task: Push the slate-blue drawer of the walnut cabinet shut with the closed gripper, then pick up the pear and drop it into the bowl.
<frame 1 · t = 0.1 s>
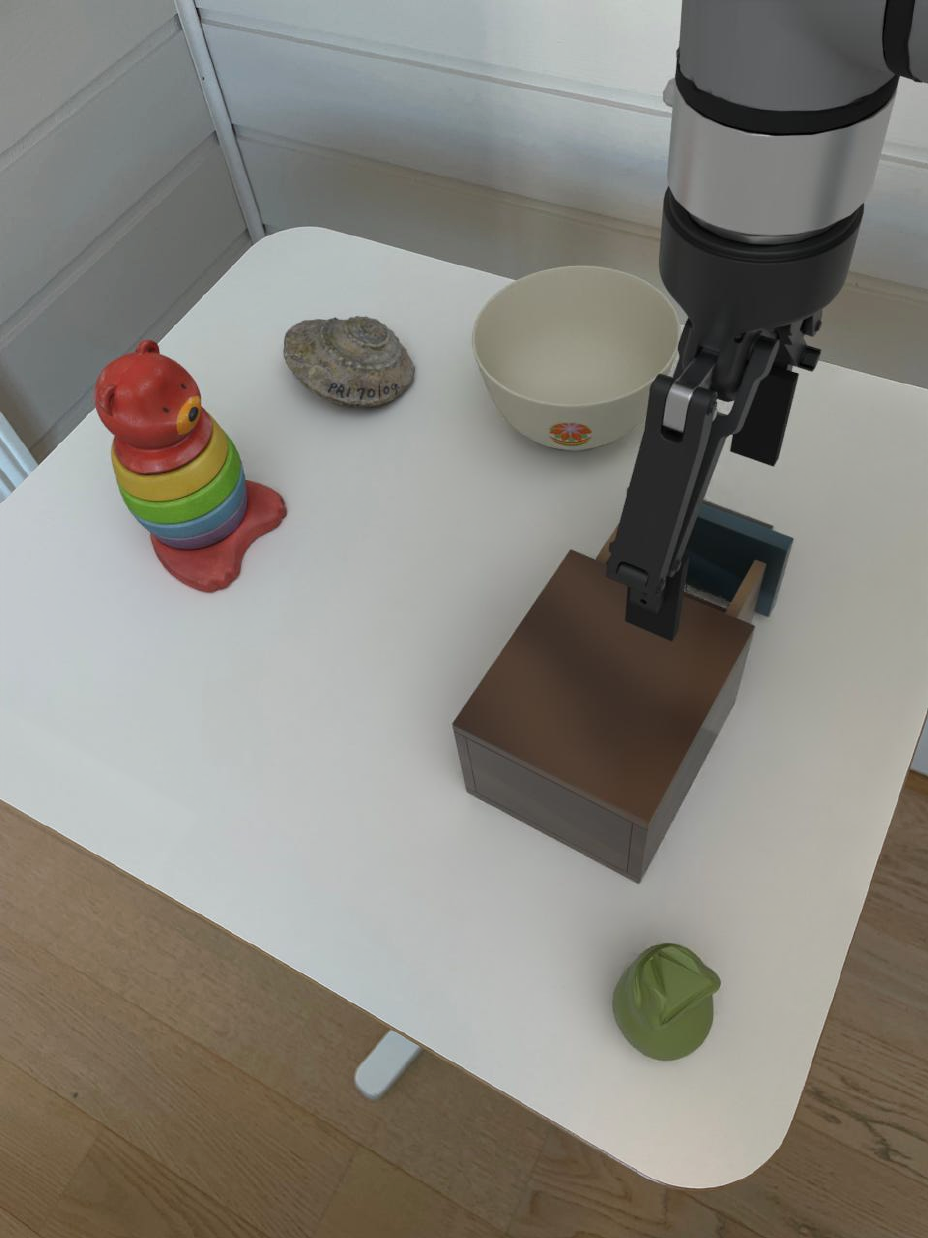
hand: (705, 536, 56), 18 cm above the table, tool pointing down, fingers open, 13 cm apart
drawer: (677, 590, 69), point 5 cm above the table, slide at 7.0 cm
cabinet: (602, 747, 69), on the table
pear: (660, 1020, 59), on the table
bowl: (575, 425, 86), on the table
stacking bear: (211, 532, 83), on the table
fossilized seashell: (350, 379, 92), on the table
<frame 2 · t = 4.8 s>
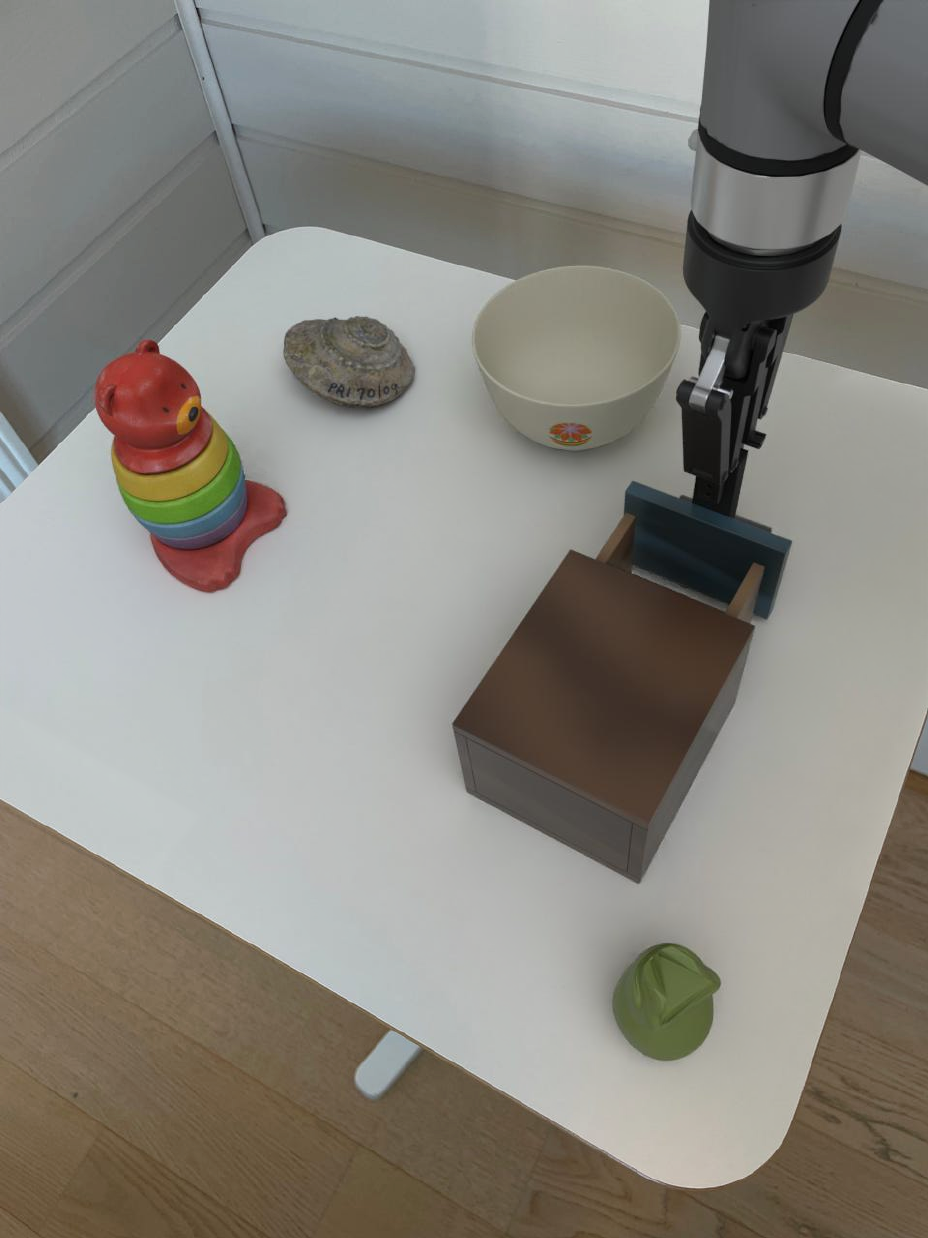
hand: (712, 515, 69), 7 cm above the table, tool pointing down, fingers closed
drawer: (675, 593, 69), point 5 cm above the table, slide at 6.7 cm, touching gripper
everything else where it was.
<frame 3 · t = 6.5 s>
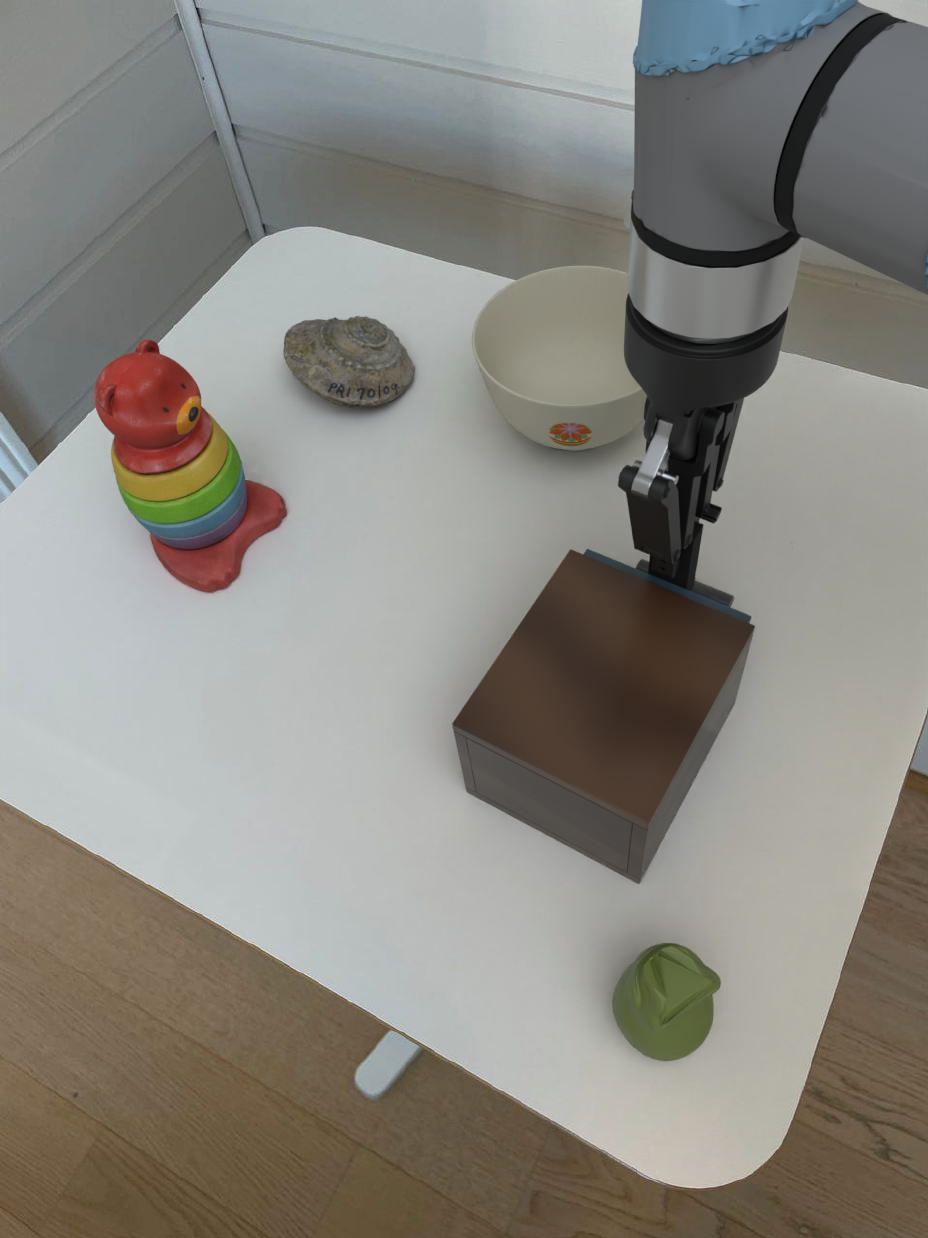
hand: (670, 586, 67), 7 cm above the table, tool pointing down, fingers closed
drawer: (631, 667, 66), point 5 cm above the table, slide at 0.0 cm, touching cabinet, gripper
everything else where it was.
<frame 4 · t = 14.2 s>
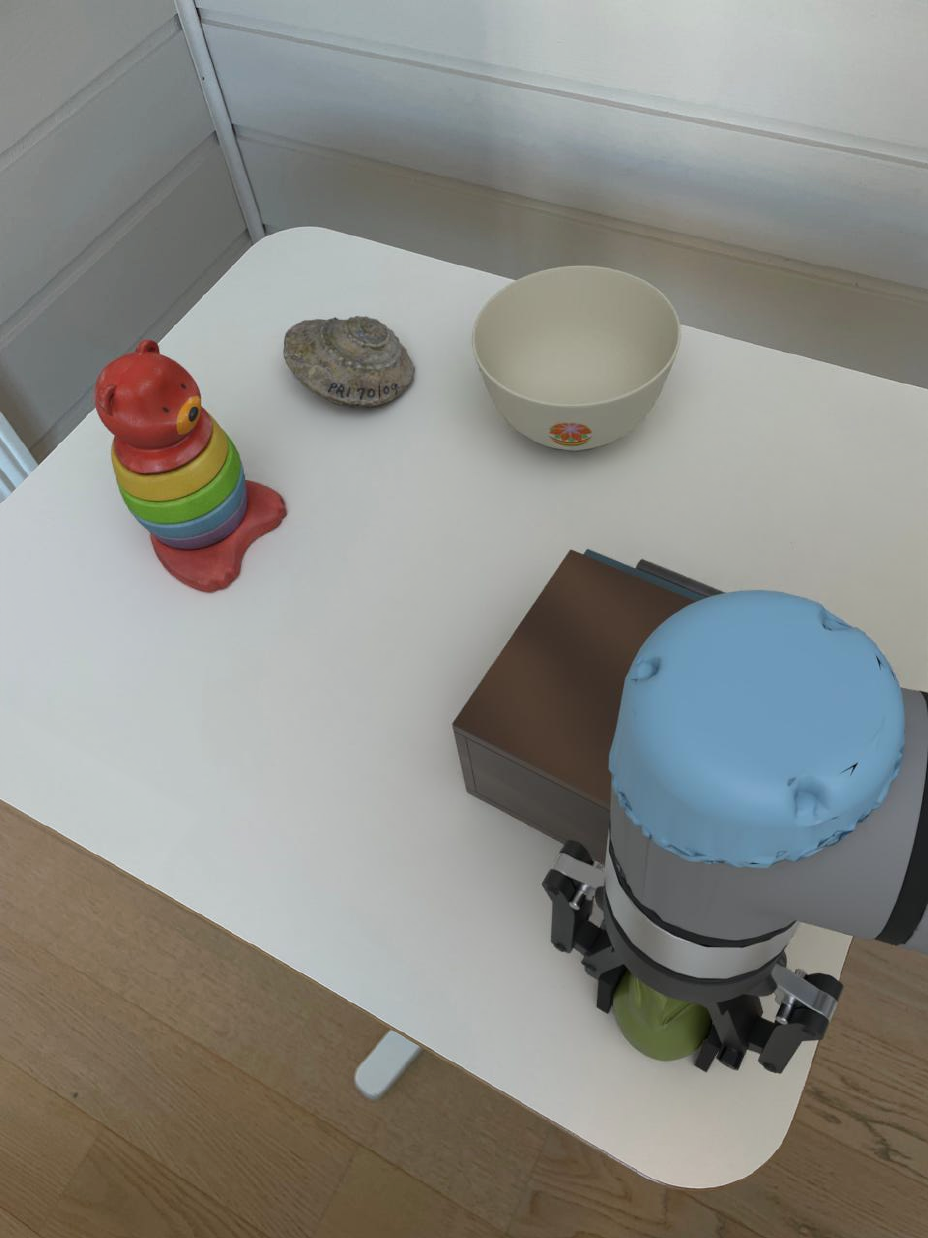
hand: (660, 1017, 58), 0 cm above the table, tool pointing down, fingers closed on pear, 5 cm apart
drawer: (631, 667, 66), point 5 cm above the table, slide at 0.0 cm
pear: (660, 1020, 59), on the table, touching gripper
everything else where it was.
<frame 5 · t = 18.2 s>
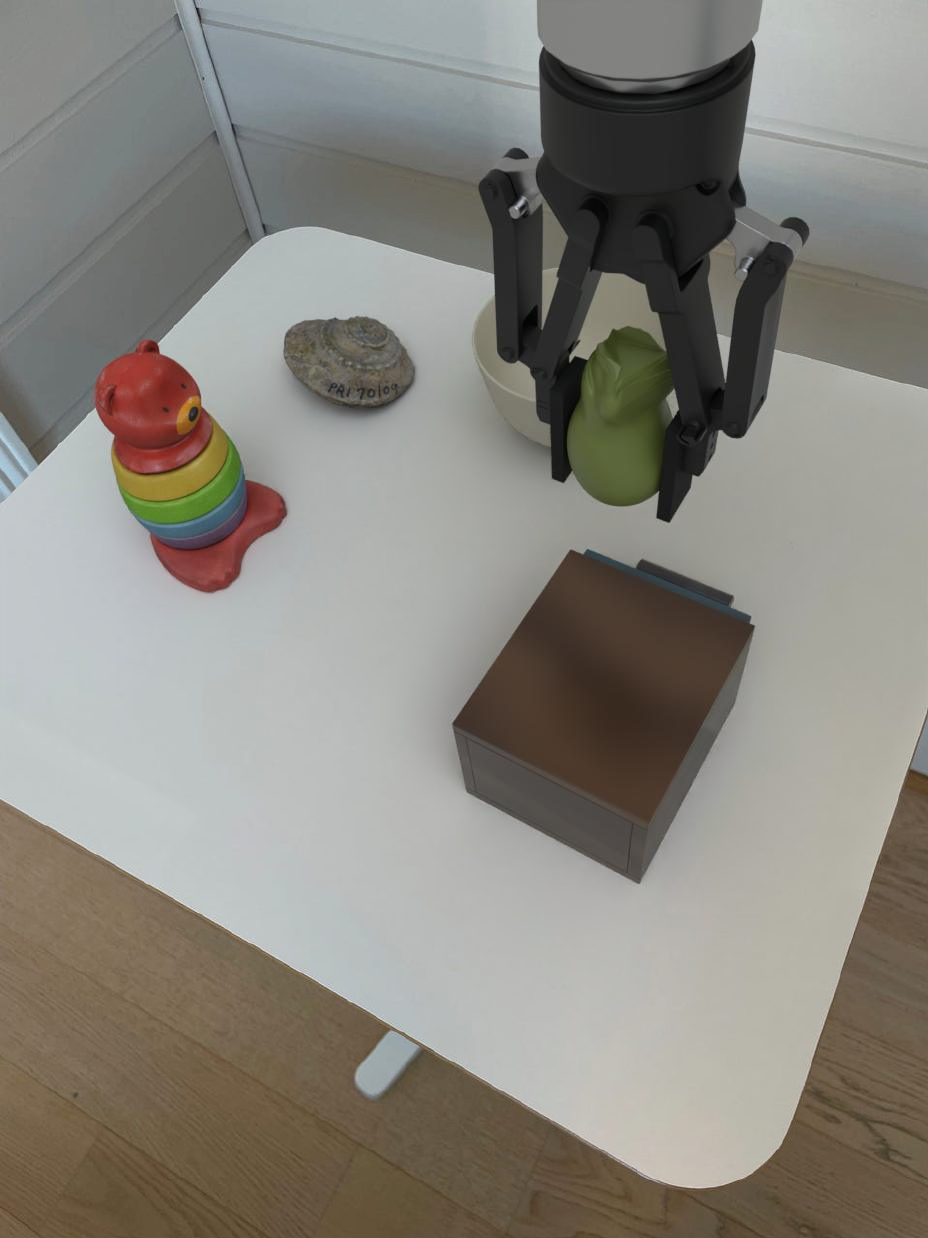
hand: (620, 482, 54), 21 cm above the table, tool pointing down, fingers closed on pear, 5 cm apart
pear: (620, 489, 54), point 21 cm above the table, touching gripper
everything else where it was.
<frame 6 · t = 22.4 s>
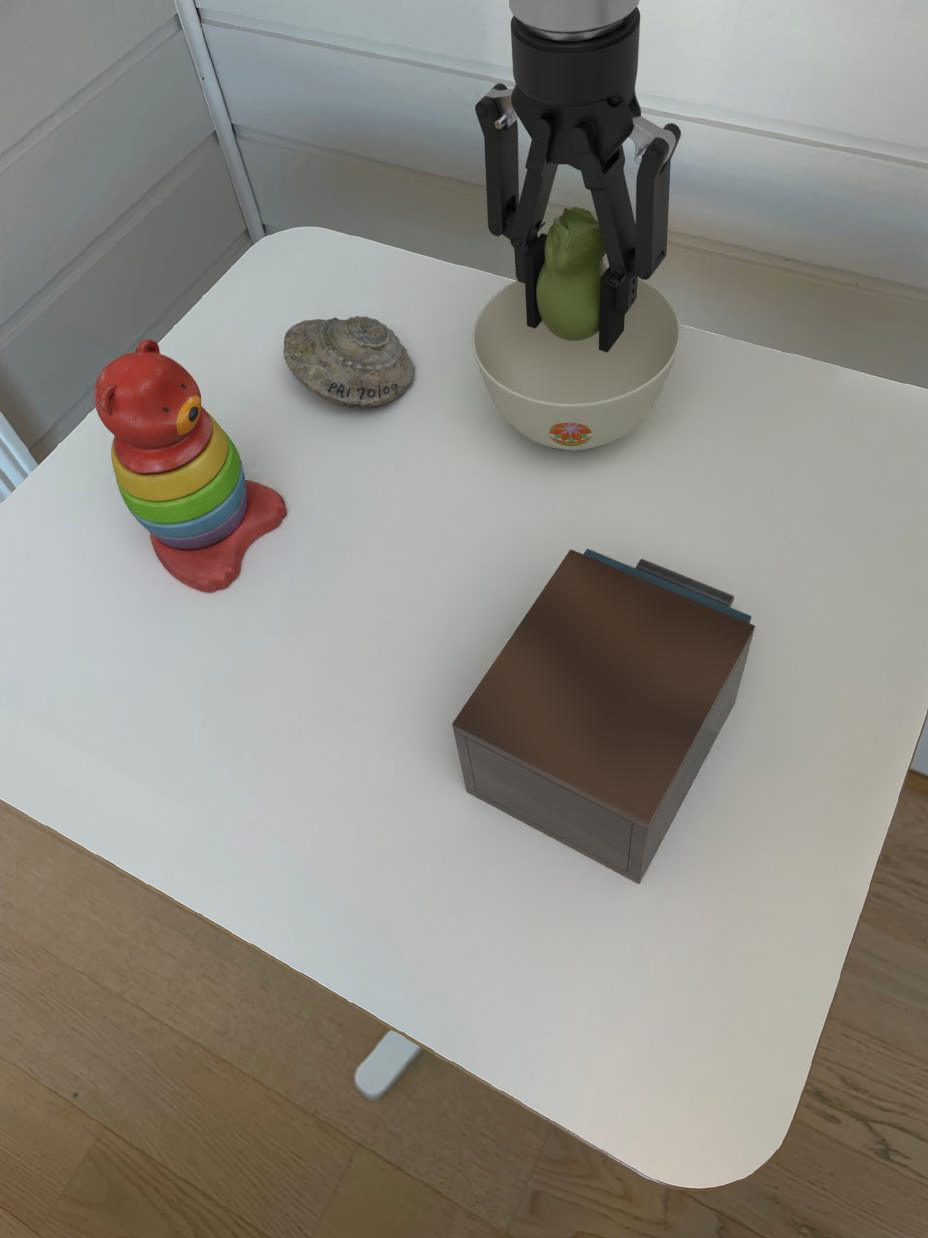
hand: (575, 327, 77), 10 cm above the table, tool pointing down, fingers closed on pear, 5 cm apart
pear: (575, 333, 77), point 10 cm above the table, touching bowl, gripper
bowl: (575, 425, 86), on the table, touching gripper, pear
everything else where it was.
when the fingers open (10 cm above the table, at t = 22.4 s): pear stays where it is, resting on bowl.
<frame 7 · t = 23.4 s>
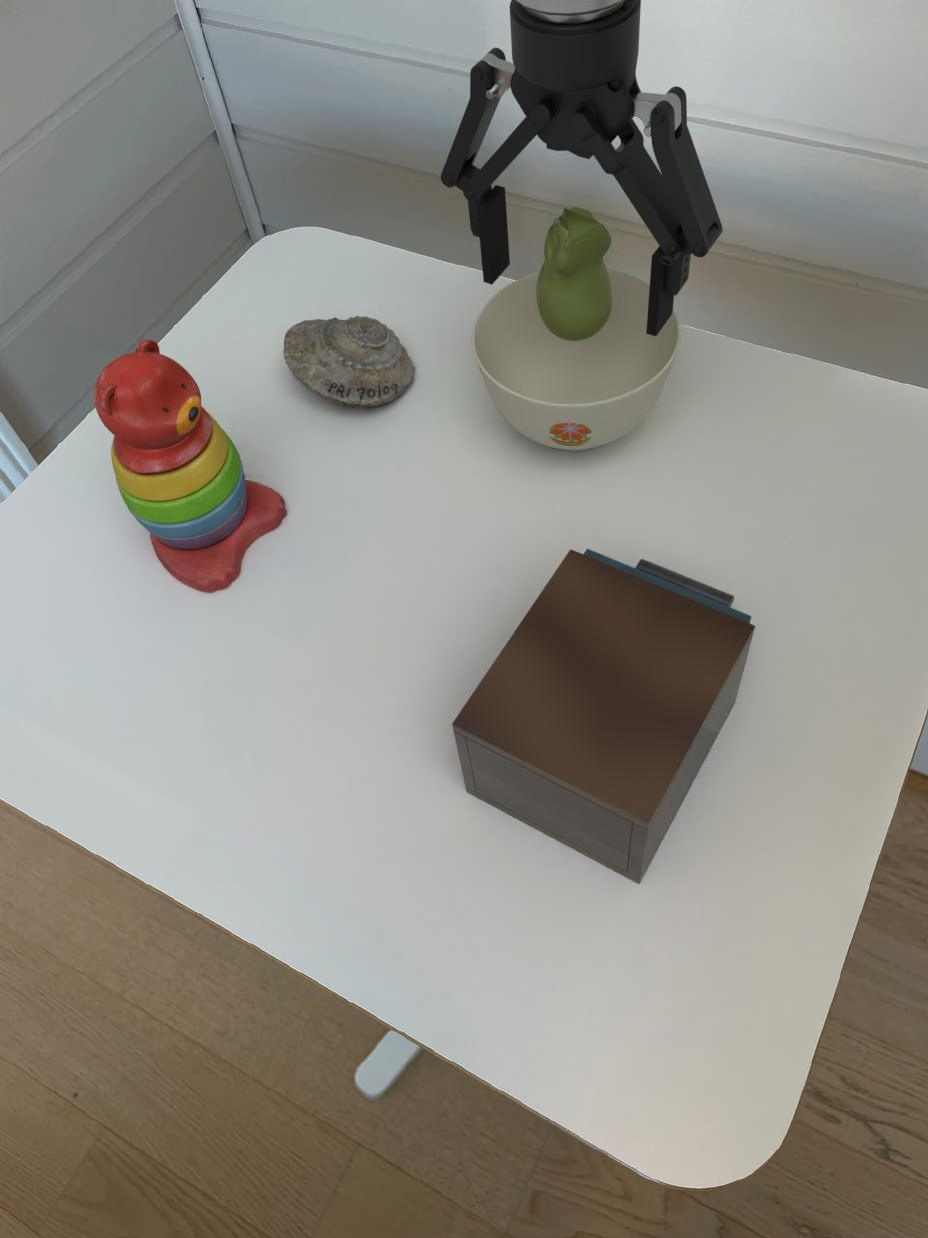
hand: (575, 297, 75), 13 cm above the table, tool pointing down, fingers open, 13 cm apart
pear: (575, 333, 77), point 10 cm above the table, touching bowl
bowl: (575, 425, 86), on the table, touching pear
everything else where it was.
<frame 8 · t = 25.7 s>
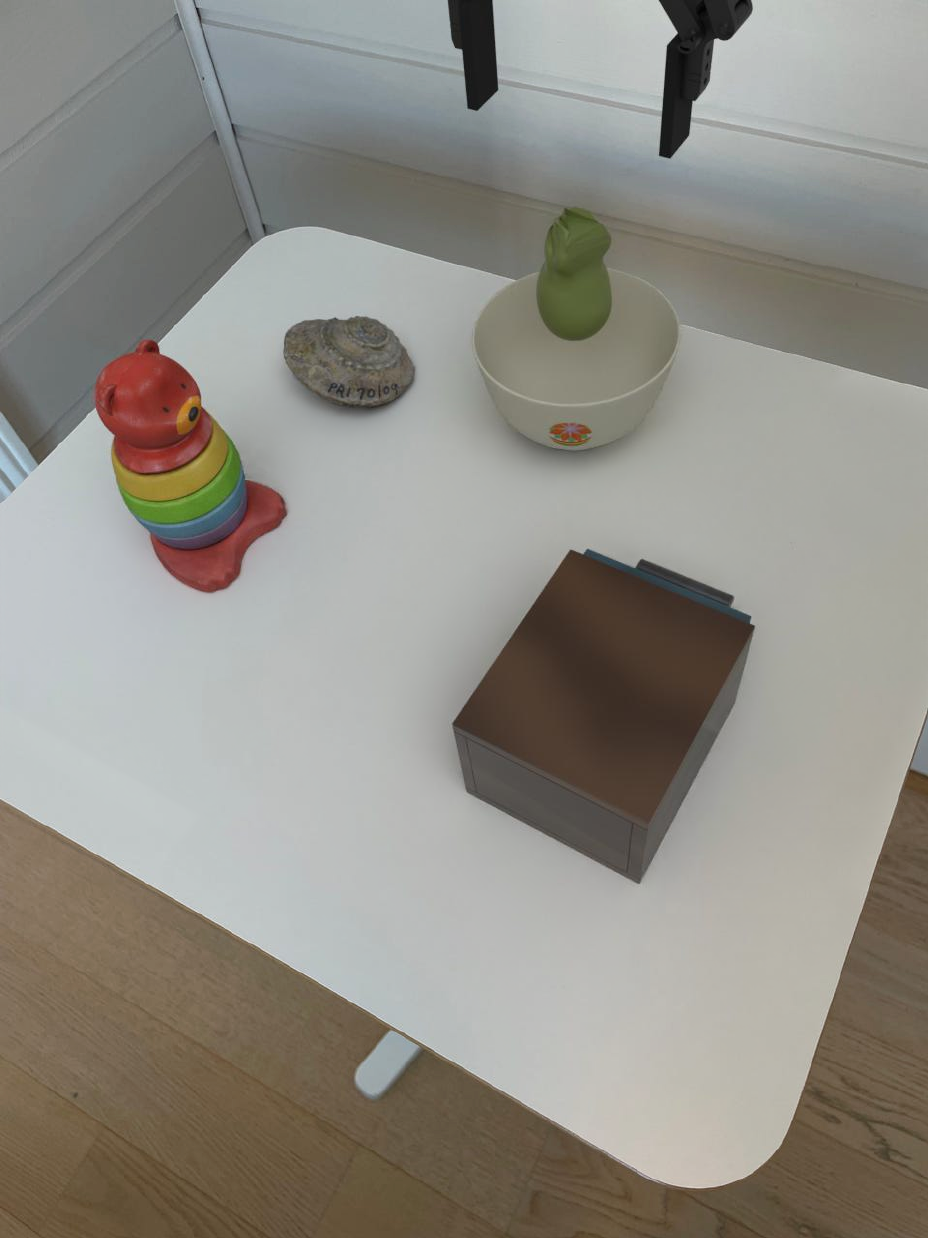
hand: (574, 122, 64), 27 cm above the table, tool pointing down, fingers open, 13 cm apart
nothing on the table moved.
at the end: drawer slide at 0.0 cm; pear 0.0 cm from the bowl (horizontally); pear touching bowl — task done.
